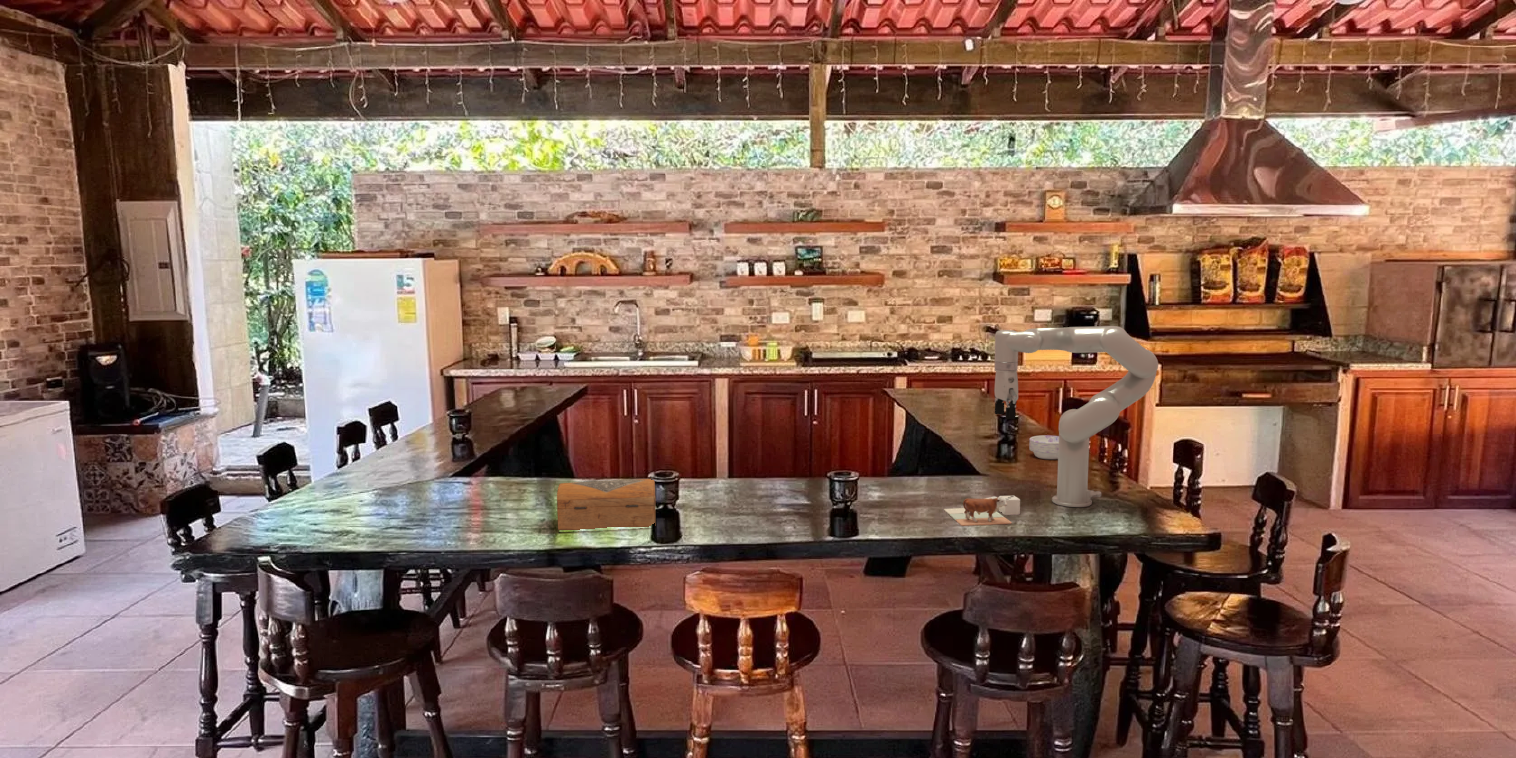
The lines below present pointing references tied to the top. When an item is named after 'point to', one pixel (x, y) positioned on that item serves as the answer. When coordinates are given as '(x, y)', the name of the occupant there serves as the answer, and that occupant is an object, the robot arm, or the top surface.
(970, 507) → the bull figurine
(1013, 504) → the die
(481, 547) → the top surface
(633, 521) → the wooden box
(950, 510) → the game board
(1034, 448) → the paper bowls
